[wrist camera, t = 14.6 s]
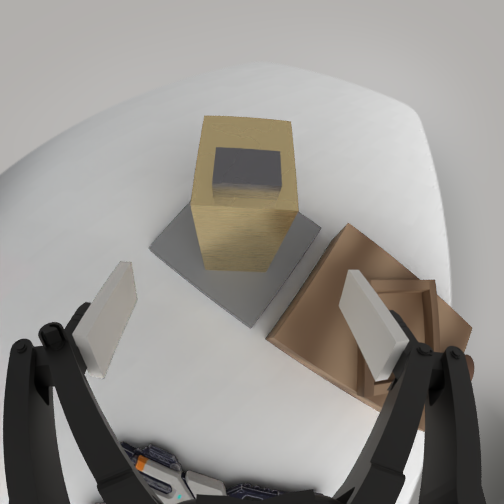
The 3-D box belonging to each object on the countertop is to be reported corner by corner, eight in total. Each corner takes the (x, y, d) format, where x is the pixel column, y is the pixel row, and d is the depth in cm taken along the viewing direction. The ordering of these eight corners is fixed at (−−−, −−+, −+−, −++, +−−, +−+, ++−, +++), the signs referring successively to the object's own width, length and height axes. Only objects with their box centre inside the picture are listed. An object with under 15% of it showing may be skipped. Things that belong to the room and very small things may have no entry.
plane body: (263, 341, 22) (278, 339, 16) (332, 239, 26) (362, 207, 20) (401, 426, 20) (443, 439, 14) (447, 331, 24) (490, 322, 17)
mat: (150, 250, 24) (148, 247, 23) (226, 169, 27) (226, 164, 26) (250, 328, 22) (251, 328, 22) (318, 231, 26) (321, 227, 25)
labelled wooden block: (205, 269, 23) (187, 191, 11) (210, 205, 25) (203, 100, 13) (265, 272, 23) (305, 198, 12) (265, 208, 25) (295, 107, 14)
